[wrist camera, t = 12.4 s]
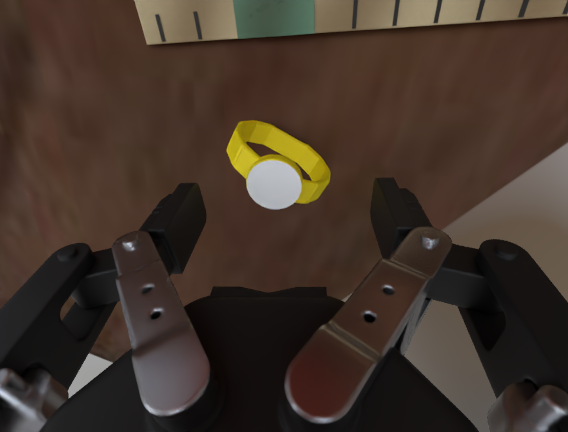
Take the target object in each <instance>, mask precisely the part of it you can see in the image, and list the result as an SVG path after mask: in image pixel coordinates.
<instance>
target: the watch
mask: <svg viewBox="0 0 568 432" xmlns="http://www.w3.org/2000/svg"><path fill="white" fill-rule="evenodd" d="M247 141H248V142H252V143H257V144H263V145H265V146H267V147H269V148H271V149H272V150H274V151H276V152H278V153H280V154H281V155H277V154H269V155H266V156H262V157H260V156H259V155H258V154H257V153H255V152H254V151H253V150H252V149H251V148H250V147H249V146H248V145H247V144H246V142H247ZM227 153H228V156H229V158H230V160H231V163H232V165H233V166H234V168H235V169H236V170H237V171H238V172H239V173H240V174H241V175H242V176H243V177H244V178H245V179H246V187H247V190H248V192H249V195H250V196H251V197H252V199H253V200H254V201H255V202H256V203H258V204H259V205H261V206H263V207H266V208H269V209H282V208H286V207H288V206H290V205H292V204H293V203H294V202H295V203H302V204H304V203H309V202H311V201H314V200H316V199H318V198H319V196H320V195H321V193H322V192H323V190H324V189H325V188H326V186H327V185H328V183H329V182H330V175H331V173H330V170H329V168H328V166H327V165H326V163H325V161H324V160H323V159H322V157H321V156H320V155H319V154H318V153H317V152H316V151H314V150H313V149H312V148H311V147H310V146H309V145H308V144H307V145H306V144H304V143H303V142H301V141H299V140H297V139H296V138H294V137H292V136H290V135H289V134H287V133H285V132H283V131H282V130H280V129H278V128H276V127H274V126H273V125H271V124H268V123H264V122H260V121H256V120H255V121H254V120H250V121H242V122H239V123H238V125H237V127H236V129H235V131H234V133H233V135H232V138H231V140H230V142H229V145H228V147H227ZM282 155H283V156H282ZM293 161H294V162H293ZM295 162H296V163H298V164H299V165H300V167H301V168H302V169H303V170H304V171H305V172H306V173H307V174H308V175H309V176H310V178H311V180H312V181H310V180H305V179H303V177H302V174H301V171H300V169H299V167H298V166H297V165H296V163H295Z"/></svg>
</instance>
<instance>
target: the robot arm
mask: <svg viewBox="0 0 568 432" xmlns="http://www.w3.org/2000/svg"><path fill="white" fill-rule="evenodd" d="M370 215H371V222H372V225H373V228H374V232H375V235H376V238H377V242H378V245H379V248H380V252H381V255H382V258H381V259H380V260H379V261H378V263H377V264H376V265H375V266H374V267H373V269H372V270H371V271H370V272H369V274H368V275H367V276H366V277H365V279H364V280H363V281H362V282H361V284H360V285H359V286H358V287H357V289H356V290H355V291H354V292H353V293H352V295H351V296H350V297H349V298H348V300H347V301H346V302H343V301H341V300H339V299H336V298H333V297H329V296H327V292H326V287H295V288H290V289H285V290H280V291H276V292H270V293H266V292H261V291H257V290H252V289H248V288H244V287H213V289H212V292H211V295H210V296H206V297H203V298H200V299H198V300H195V301H193V302H191V303H189V304H188V305H186V306H185V307H184V306H183V304H182V302H181V300H180V298H179V296H178V293H177V291H176V289H175V287H174V285H173V283H172V281H171V278H170V275H171V274H182V273H183V271H184V269H185V267H186V264H187V262H188V260H189V258H190V256H191V254H192V251H193V249H194V247H195V245H196V243H197V241H198V238H199V236H200V234H201V232H202V230H203V228H204V225H205V223H206V209H205V206H204V202H203V198H202V195H201V191H200V188H199V185H198V184H197V183H180V184H179V185H178V187H177V188H176V189H175V191H174V192H173V194H169V195H168V196H166V197H165V198H163V199H162V200H161V201H160V202H159V204H158V205H157V206H156V208H155V209H154V210H153V212H152V214H150V216H149V217H148V218H147V220H146V221H145V222H144V224H143V225H142V226H141V228H140V229H139V230H138V231H133V232H130V233H127V234H125V235H123V236H121V237H120V238H118V239H117V240H116V241H115V242H114V243H113V245H112V248H110V249H105V250H101V251H97V252H92V251H91V249H90V247H89V246H88V245H87V244H85V243H75V244H71V245H68V246H65V247H63V248H61V249H59V250H58V251H56V252H55V253H53V254H52V255H51V256H50V257H49V258H48V259H47V260H46V261H45V263H44V264H43V265H42V266H41V267H40V268H39V269H38V270H37V271H36V272H35V273H34V274H33V275H32V276H31V278H30V279H29V280H28V281H27V282H26V283H25V284H24V285H23V286H22V287H21V288H20V289H19V290H18V291H17V292H16V294H15V295H14V296H13V297H12V298H11V299H10V300H9V301H8V302H7V303H6V304H5V305H4V306H3V307H2V308H1V310H0V432H479V431H478V430H477V428H476V427H475V426H474V425H473V424H472V422H471V421H470V420H469V419H468V418H467V417H466V416H465V415H464V414H463V413H462V412H461V411H460V410H459V409H458V408H457V407H456V406H455V405H454V404H453V403H452V402H450V401H449V399H448V398H447V397H446V396H445V395H444V394H442V393H441V392H440V391H439V390H438V389H437V388H436V387H435V386H434V385H433V384H432V383H431V382H430V381H429V380H428V379H427V378H426V377H425V376H424V375H423V374H422V373H421V372H420V371H419V370H418V369H417V368H416V367H415V366H414V365H413V364H412V363H411V362H410V361H409V360H408V359H406V358H405V357H404V355H405V353H406V351H407V348H408V346H409V344H410V341H411V339H412V337H413V335H414V333H415V331H416V329H417V327H418V325H419V324H420V322H421V320H422V318H423V316H424V314H425V313H426V311H427V309H428V306H429V305H430V303H431V301H432V299H433V300H437V301H441V302H445V303H448V304H452V305H456V306H458V308H459V311H460V313H461V315H462V318H463V320H464V323H465V325H466V327H467V330H468V332H469V334H470V337H471V339H472V342H473V344H474V346H475V349H476V351H477V353H478V355H479V358H480V360H481V362H482V365H483V367H484V370H485V372H486V374H487V377H488V379H489V381H490V384H491V386H492V388H493V391H494V393H495V396H496V398H497V400H496V401H495V402H494V403H493V405H492V406H491V407H490V409H489V411H488V416H487V418H488V425H489V429H490V432H568V302H567V301H566V300H565V298H564V297H563V296H562V295H561V293H560V292H559V291H558V290H557V288H556V287H555V286H554V285H553V284H552V282H551V281H550V280H549V278H548V277H547V276H546V275H545V273H544V272H543V271H542V270H541V268H540V267H539V266H538V265H537V263H536V262H535V261H534V260H533V258H532V257H531V256H530V255H529V254H528V252H527V251H525V250H524V249H523V248H521V247H520V246H518V245H516V244H514V243H511V242H508V241H504V240H497V239H493V240H492V239H491V240H486V241H484V242H483V243H482V244H481V245H480V248H479V249H475V248H469V247H464V246H459V245H456V244H453V243H452V240H451V238H450V237H449V236H448V235H447V234H446V233H444V232H443V231H441V230H439V229H436V228H433V226H432V225H431V223H430V221H429V219H428V218H427V216H426V214H425V212H424V211H423V209H422V207H421V205H420V204H419V203H418V200H417V198H416V197H415V195H414V194H413V193H411V192H410V191H409V190H407V189H406V188H400V189H399V187H398V185H397V183H396V182H395V180H394V178H375V180H374V185H373V193H372V201H371V210H370ZM70 295H71V296H72V298H73V299H74V300H75V301H76V302H75V303H74V305H73V306H72V307H71V309H70V310H69V312H68V313H67V314H66V316H65V317H64V319H63V320H62V321H61V319H60V311H61V308H62V306H63V305H64V303H65V302H66V301H67V299H68V298H69V297H70ZM118 301H121V305H122V309H123V313H124V317H125V321H126V325H127V329H128V333H129V337H130V341H131V346H132V348H131V349H130V350H129V351H128V352H126V353H125V354H124V355H123V356H121V357H120V358H119V359H118V360H116V361H115V362H114V363H113V364H111V365H110V366H109V367H108V368H106V370H104V371H103V372H102V373H100V374H99V375H98V376H97V377H95V378H94V379H93V380H91V381H90V382H89V383H88V384H87V385H85V386H84V387H83V388H82V389H80V390H79V391H78V392H76V393H75V394H74V395H73V396H71V398H69V399H68V389H69V387H70V385H71V384H72V382H73V380H74V378H75V377H76V375H77V373H78V371H79V369H80V368H81V366H82V364H83V362H84V361H85V359H86V357H87V355H88V354H89V352H90V350H91V348H92V346H93V345H94V343H95V341H96V339H97V338H98V336H99V334H100V332H101V330H102V329H103V327H104V325H105V323H106V322H107V320H108V318H109V316H110V315H111V313H112V311H113V309H114V307H115V306H116V304H117V302H118Z"/></svg>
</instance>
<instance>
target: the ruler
mask: <svg viewBox="0 0 568 432" xmlns="http://www.w3.org/2000/svg"><path fill="white" fill-rule="evenodd" d="M134 1H135V4H136V8H137V11H138V14H139V18H140V21H141V25H142V28H143V32H144V35H145V39H146V42H147V44H148V45H153V44H168V43H182V42H197V41H212V40H226V39H244V38H258V37H273V36H288V35H302V34H314V33H329V32H344V31H358V30H373V29H388V28H402V27H417V26H432V25H446V24H461V23H476V22H490V21H505V20H520V19H534V18H549V17H564V16H568V0H134Z"/></svg>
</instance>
